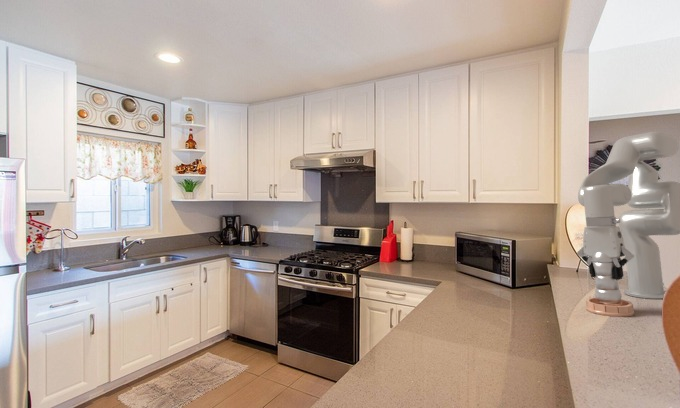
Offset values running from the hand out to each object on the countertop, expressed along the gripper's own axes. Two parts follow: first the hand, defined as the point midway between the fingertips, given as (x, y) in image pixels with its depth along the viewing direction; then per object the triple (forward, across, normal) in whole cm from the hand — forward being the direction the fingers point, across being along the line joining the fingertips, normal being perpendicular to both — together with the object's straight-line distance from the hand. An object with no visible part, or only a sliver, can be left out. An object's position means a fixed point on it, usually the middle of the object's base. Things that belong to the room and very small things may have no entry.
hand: (606, 277), depth 106 cm
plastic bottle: (+9, 0, 0) cm, 9 cm away
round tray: (+11, 0, 0) cm, 11 cm away
